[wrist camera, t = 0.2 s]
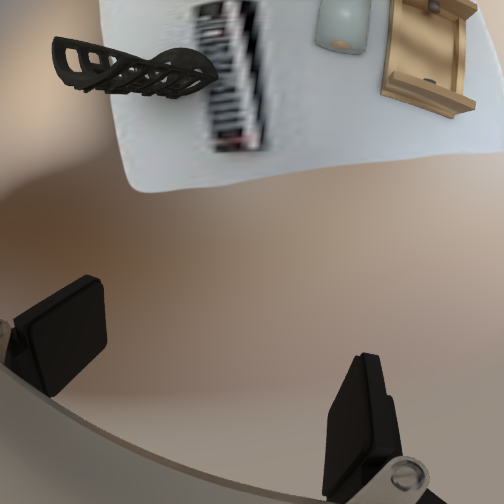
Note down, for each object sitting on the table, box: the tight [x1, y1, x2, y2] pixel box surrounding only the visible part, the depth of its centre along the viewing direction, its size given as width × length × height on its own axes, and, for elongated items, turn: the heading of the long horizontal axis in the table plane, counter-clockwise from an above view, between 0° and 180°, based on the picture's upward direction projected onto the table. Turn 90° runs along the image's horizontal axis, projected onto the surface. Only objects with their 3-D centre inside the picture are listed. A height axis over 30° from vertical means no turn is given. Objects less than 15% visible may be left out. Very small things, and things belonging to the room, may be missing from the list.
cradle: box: [381, 0, 477, 119], centre depth 25 cm, size 16×10×7 cm, turn 170°
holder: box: [52, 36, 218, 99], centre depth 27 cm, size 11×8×20 cm
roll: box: [315, 0, 371, 54], centre depth 27 cm, size 10×6×6 cm, turn 170°
